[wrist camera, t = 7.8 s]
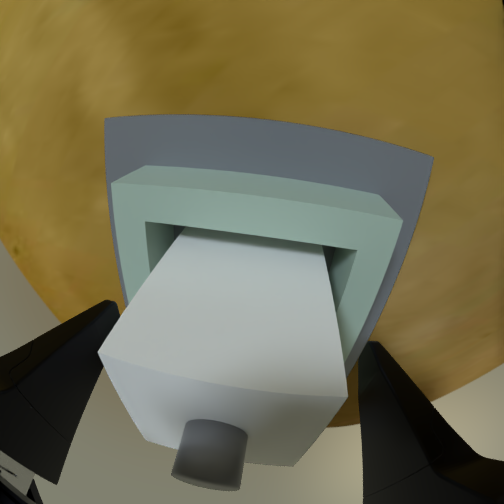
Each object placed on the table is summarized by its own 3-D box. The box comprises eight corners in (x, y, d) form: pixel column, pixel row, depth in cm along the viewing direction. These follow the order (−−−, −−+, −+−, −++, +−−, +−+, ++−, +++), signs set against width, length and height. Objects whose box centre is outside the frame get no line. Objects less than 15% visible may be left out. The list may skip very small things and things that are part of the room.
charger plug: (319, 234, 11) (354, 466, 3) (296, 327, 13) (290, 504, 6) (192, 218, 11) (64, 407, 3) (194, 312, 13) (133, 475, 6)
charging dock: (427, 154, 9) (469, 173, 6) (345, 371, 15) (350, 413, 13) (112, 117, 10) (64, 126, 7) (139, 339, 16) (120, 376, 13)
